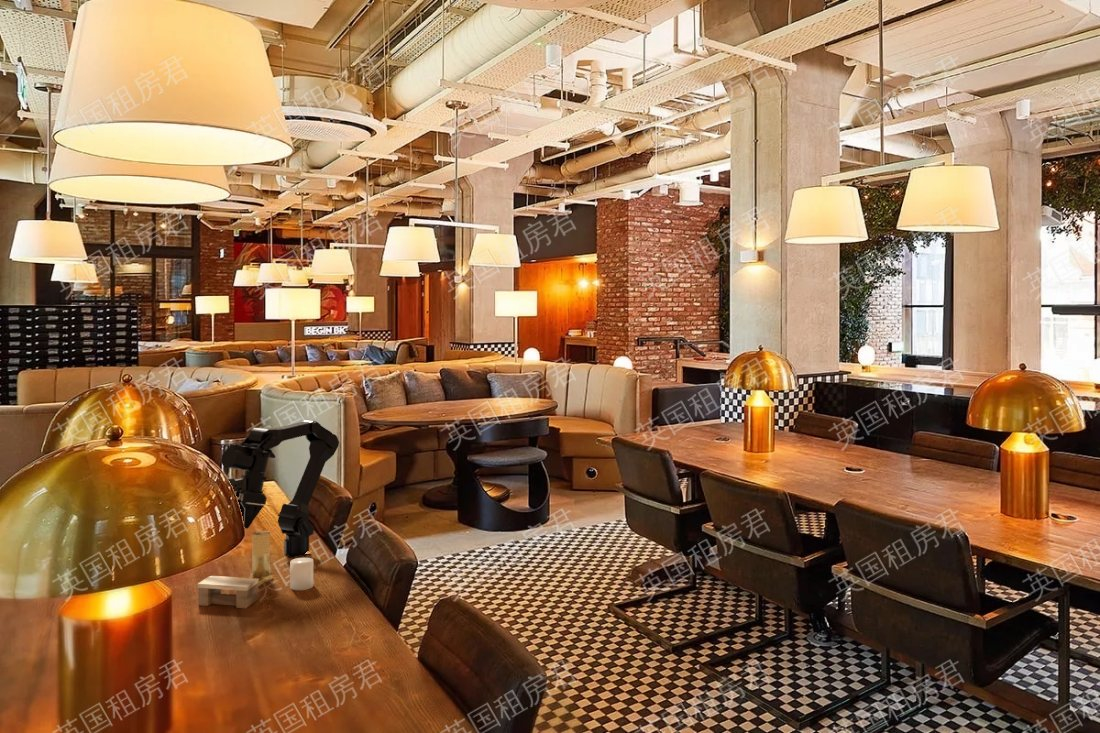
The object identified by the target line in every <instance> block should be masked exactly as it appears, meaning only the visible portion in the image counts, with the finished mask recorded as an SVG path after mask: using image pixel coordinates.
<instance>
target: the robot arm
mask: <svg viewBox="0 0 1100 733" xmlns="http://www.w3.org/2000/svg"><path fill="white" fill-rule="evenodd" d="M304 436H305V439H306V440H307V441H308V442H309V446H308V451H309V459H308V461H307V464H306V467H305V468H304V472H303V474H302V477H301V478H300V481H299V484H298V486H297V487H296V491H295V492H294V495H293V498H292V500H291V501H290V502H289V503H283V504H282V505H281V508H280V511H279V513H278V514H277V517H278V519H277V523H278V526H279V528H280V532H281V533H282V534H283V535H284V534H285V538H284V540H283V553H284V552H285V553H286V554H287V555H288V556H289V557H288V556H287V555H286V554H285V553H284V554H285V555H286V556H287V557H288V558H290V557H291V558H296V557H295V556H298V557H300V556H299V555H304V554H305V553H306V552H307V551H309V552H310V537H311V535H313V534H314V533H315V532H314V531H315V527H314V525H313V524H312V523H311V522H310V521H309V519H310V508H309V505H310V502H311V499H312V497H313V494H314V492H315V490H316V486H317V485H318V482H319V479H320V476H321V475H322V472H323V470H324V467H325V465H326V462H327V461H328V460H330V459H331V458H332V457H333V456H334V455H335V453H336V451H337V450H338V447H339V444H340V441H339V438H338V436H337V435H336V434H334V433H333V432H332V431H330V430H329V429H327V428H325V427H324V426H322V425H321V424H320V423H319V422H318V421H316V420H310V419H305V420H303V421H299V422H296V423H290V424H287V425H283V426H278V427H254V428H252V429H250V432H249V434H248V435H247V436H246V437H245V438H244V439H243V440H242V441H241V442H240V444H237V443H236V444H235V443H230V444H229V447H228V448H226V449H225V451H224V452H223V454H221V465H222V466H223V467H224V468H226V469H232V470H240V471H244V473H242V474H241V476H240V478H236V479H235V478H234V477H231V478H227V479H228V480H229V481H230V483H231V485H232V486H233V489H234V493H235V494H236V496H237V498H238V502H239V505H240V509H241V512H242V516H243V521H244V524H243V528H244V527H245V528H244V529H249V528H250V526H251V525H252V523H253V522H254V520H255V519H256V518H257V516H259V513H260V512H261V511H262V509H263V508H264V507H265V506H266V504H267V496H266V494H264V491H263V488H264V483H265V481H266V480H267V477H266V473H267V470H268V464H269V461H270V460H269V459H270V458H271V459H275V458H276V455H275V453H274V452H273V451H272V449H274V448H275V447H278V446H280V444H281V443H283V442H284V441H288V440H293V439H296V438H301V437H304ZM239 505H238V506H239ZM304 556H305V555H304Z"/></svg>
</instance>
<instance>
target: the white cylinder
mask: <svg viewBox="0 0 1100 733" xmlns="http://www.w3.org/2000/svg"><path fill="white" fill-rule="evenodd" d="M289 563H290V564H289V579H290V580H289V588H290V589H291V590H293V591H305V590H310V589H312V588H313V587H314V559H313V558H312V557H311V558H310V557H297V558H296V557H295V558H294V559H291V560H290V562H289Z"/></svg>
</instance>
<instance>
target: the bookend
mask: <svg viewBox="0 0 1100 733" xmlns="http://www.w3.org/2000/svg"><path fill="white" fill-rule="evenodd" d="M251 546H252V556H251V557H252V561H251V563H252V565H251V566H252V570H251V571H252V572H251V573H250V574H249V578H256V579H259V583H258V587H260V586H261V585H263V584H264V583H267V582H270V581H272V580H273V576H274V575H273V574H274V573H273V572H271V568H270V567H271V563H270V562H271V561H270V560H271V558H270V557H271V533H270V531H269V530H257V531H254V532H252V545H251Z"/></svg>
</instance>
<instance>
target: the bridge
mask: <svg viewBox="0 0 1100 733" xmlns="http://www.w3.org/2000/svg"><path fill="white" fill-rule="evenodd" d="M258 583H259V579H256V578H250V577H236V576H224V575H222V576H220V575H210V576H208V577H206V578H204V579H203V580H201V581H199V582H198V583H197V588H198V606H205V607H206V606H207V607H208V606H210V605H224V606H225V605H226V606H235V607H236V609H237V608H239V609H247V608H248V607H249V606H251V605H252V604H254V603H255V602H257V601H258V598H259V597H258ZM222 590H228V591H231V590H232V591H235V592H236V593H235V594H233V593H231V594H230V593H221V592H222Z"/></svg>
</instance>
